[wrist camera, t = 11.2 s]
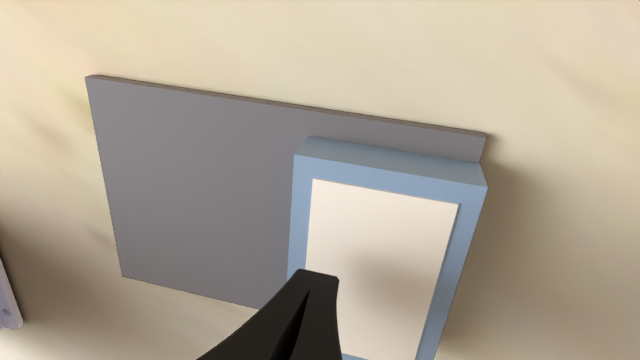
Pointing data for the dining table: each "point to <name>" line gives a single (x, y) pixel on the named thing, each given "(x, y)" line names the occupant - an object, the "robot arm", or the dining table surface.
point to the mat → (222, 179)
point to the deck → (384, 240)
